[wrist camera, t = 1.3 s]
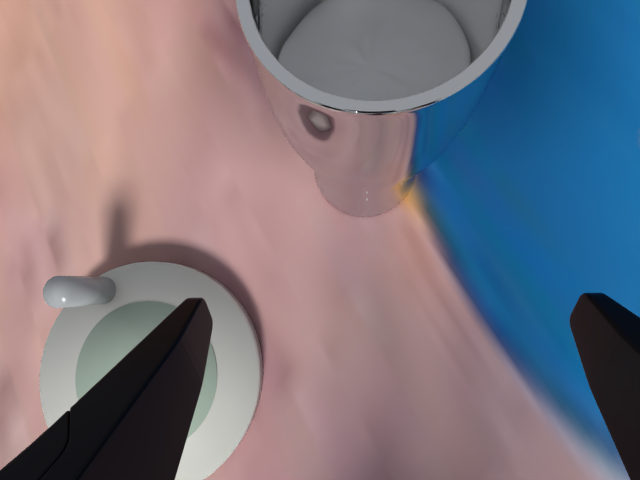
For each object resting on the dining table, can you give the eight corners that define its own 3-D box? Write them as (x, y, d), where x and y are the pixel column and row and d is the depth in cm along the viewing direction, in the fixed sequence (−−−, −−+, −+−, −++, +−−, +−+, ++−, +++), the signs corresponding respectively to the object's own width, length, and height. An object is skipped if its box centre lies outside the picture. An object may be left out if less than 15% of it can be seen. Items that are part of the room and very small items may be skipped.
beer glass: (284, 171, 24) (164, -10, 9) (362, 89, 24) (371, -223, 9) (367, 249, 23) (385, 190, 8) (448, 164, 23) (615, -50, 8)
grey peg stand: (303, 414, 22) (289, 450, 18) (112, 527, 23) (49, 592, 18) (197, 223, 24) (159, 209, 19) (22, 330, 24) (-57, 342, 20)
